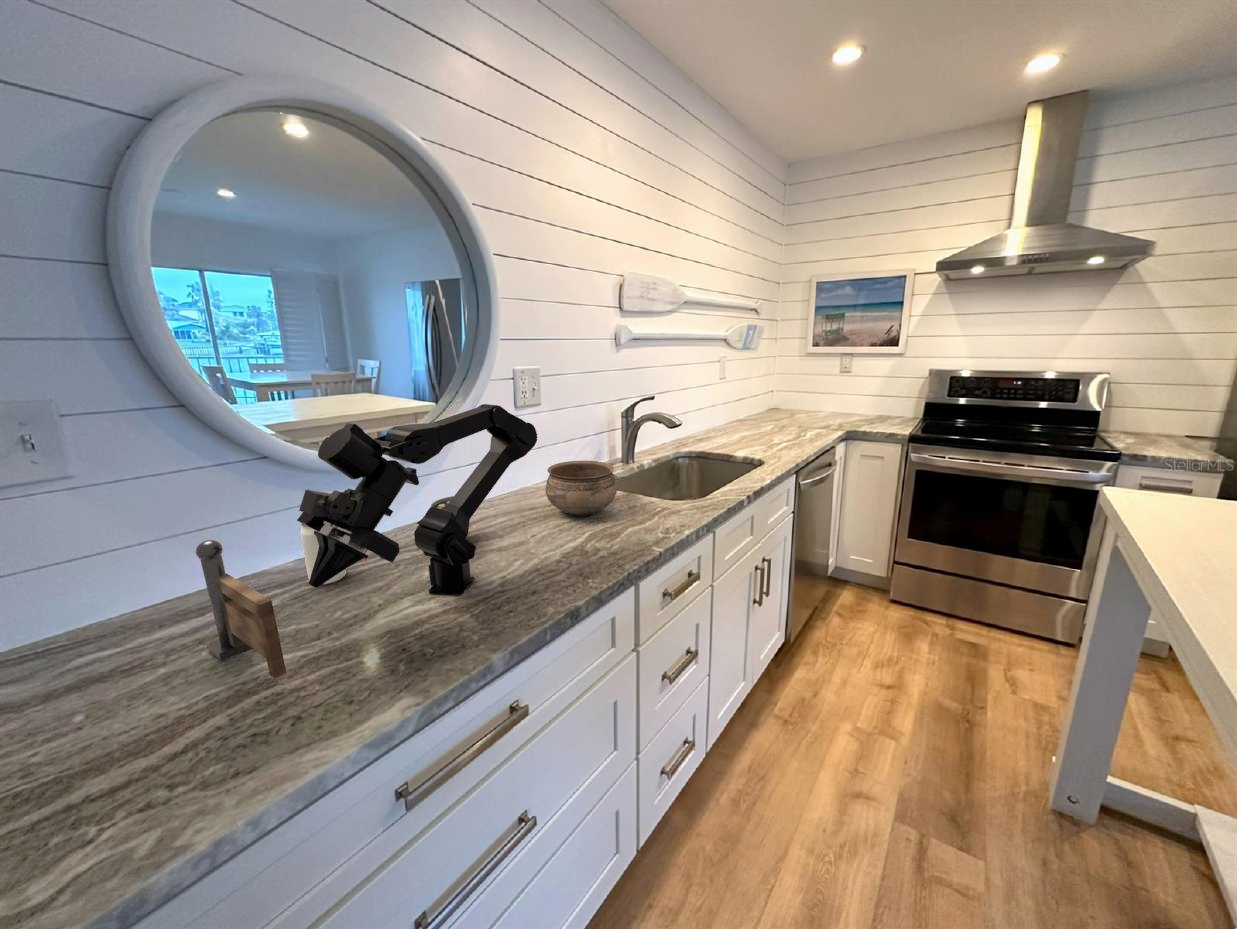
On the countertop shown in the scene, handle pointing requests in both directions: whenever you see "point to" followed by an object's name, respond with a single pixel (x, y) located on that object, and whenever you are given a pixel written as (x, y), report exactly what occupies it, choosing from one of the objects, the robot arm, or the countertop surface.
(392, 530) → the countertop surface
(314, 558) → the can
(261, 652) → the gate
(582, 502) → the cooking pot
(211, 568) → the gate post
